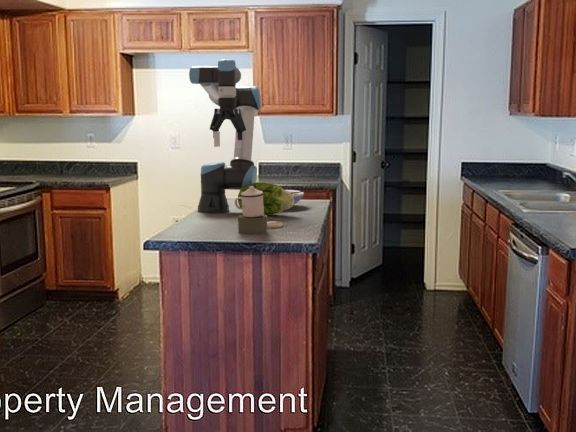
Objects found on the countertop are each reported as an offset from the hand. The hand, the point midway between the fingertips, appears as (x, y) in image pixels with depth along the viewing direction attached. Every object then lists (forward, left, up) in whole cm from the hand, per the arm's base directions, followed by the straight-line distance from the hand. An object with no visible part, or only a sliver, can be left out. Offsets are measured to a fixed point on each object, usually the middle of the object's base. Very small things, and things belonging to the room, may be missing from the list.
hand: (227, 147), depth 267 cm
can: (+24, -9, -33) cm, 42 cm away
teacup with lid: (+23, -9, -26) cm, 36 cm away
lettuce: (0, +24, -33) cm, 41 cm away
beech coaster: (+20, +6, -33) cm, 39 cm away
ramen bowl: (-12, +48, -33) cm, 59 cm away
